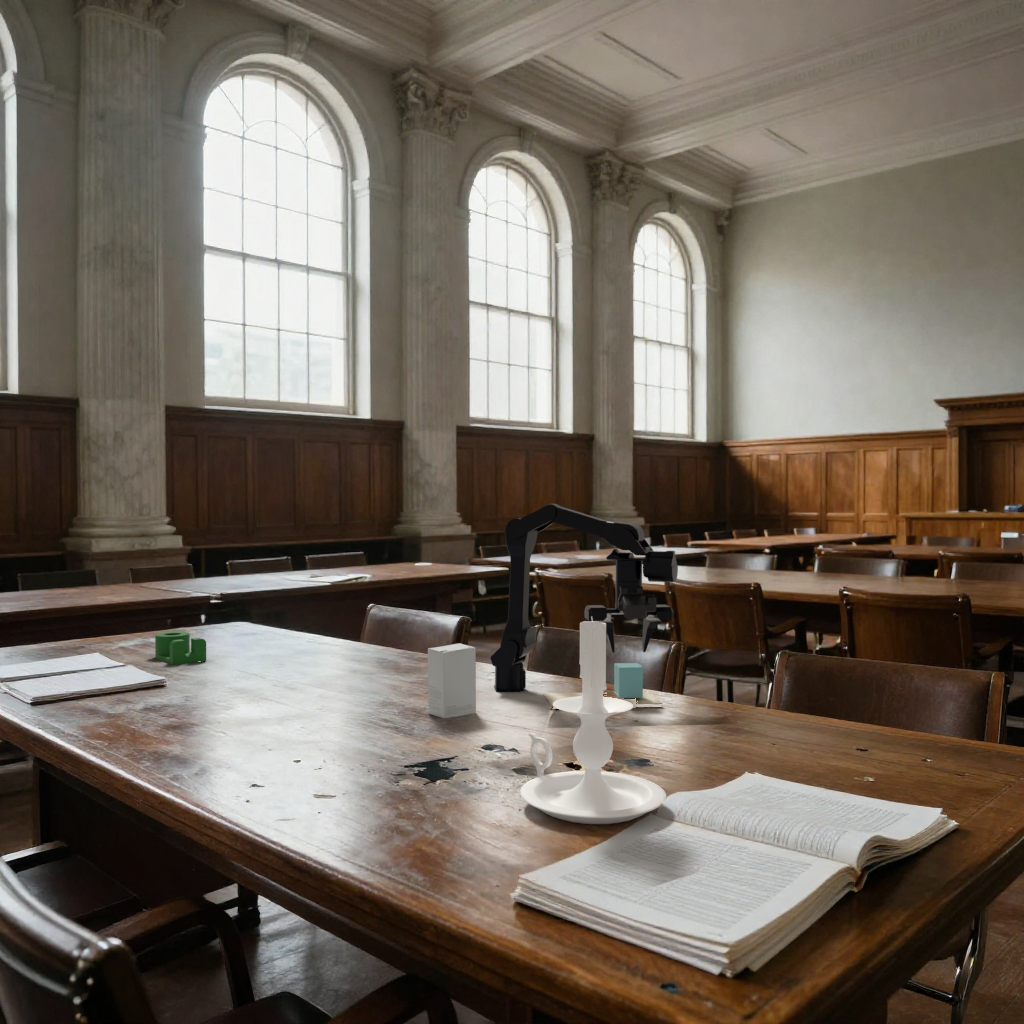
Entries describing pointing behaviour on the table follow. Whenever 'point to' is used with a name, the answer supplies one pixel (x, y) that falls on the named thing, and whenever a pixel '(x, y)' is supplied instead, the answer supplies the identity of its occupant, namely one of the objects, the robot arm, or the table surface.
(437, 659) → the skincare box
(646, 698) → the post stand
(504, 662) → the robot arm
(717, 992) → the table surface
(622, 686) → the teal rectangular block
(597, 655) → the candlestick
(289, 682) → the table surface
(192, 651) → the slotted cylinder bracket
